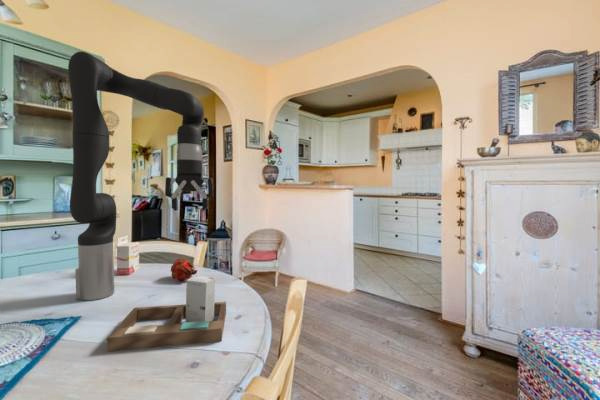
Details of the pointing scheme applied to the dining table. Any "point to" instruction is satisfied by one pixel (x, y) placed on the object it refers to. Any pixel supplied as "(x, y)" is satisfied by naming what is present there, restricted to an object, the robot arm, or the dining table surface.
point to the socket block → (165, 328)
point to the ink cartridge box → (127, 256)
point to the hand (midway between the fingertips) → (190, 210)
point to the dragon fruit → (182, 270)
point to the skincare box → (200, 299)
